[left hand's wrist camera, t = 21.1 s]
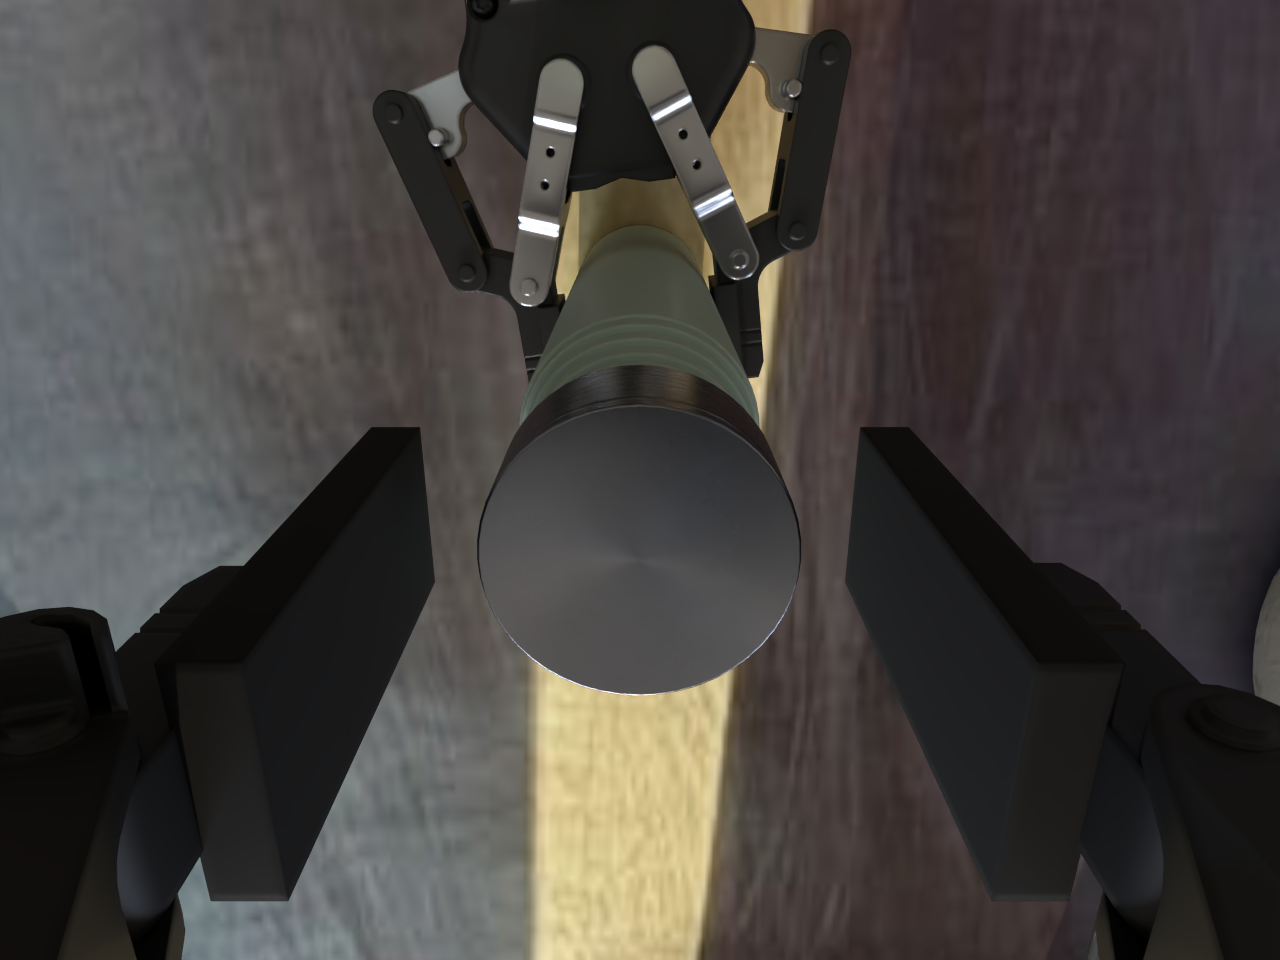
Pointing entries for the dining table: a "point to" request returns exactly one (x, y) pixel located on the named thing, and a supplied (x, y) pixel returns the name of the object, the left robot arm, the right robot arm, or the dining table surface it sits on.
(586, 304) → the bottle
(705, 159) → the right robot arm
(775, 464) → the cap
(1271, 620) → the decorative stone
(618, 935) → the dining table surface
